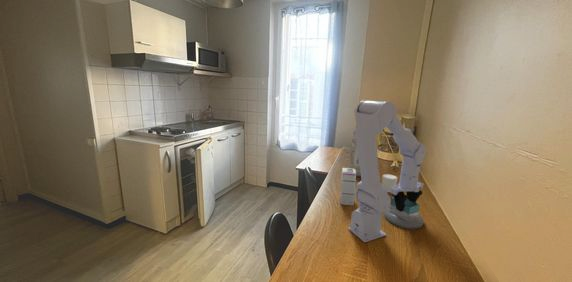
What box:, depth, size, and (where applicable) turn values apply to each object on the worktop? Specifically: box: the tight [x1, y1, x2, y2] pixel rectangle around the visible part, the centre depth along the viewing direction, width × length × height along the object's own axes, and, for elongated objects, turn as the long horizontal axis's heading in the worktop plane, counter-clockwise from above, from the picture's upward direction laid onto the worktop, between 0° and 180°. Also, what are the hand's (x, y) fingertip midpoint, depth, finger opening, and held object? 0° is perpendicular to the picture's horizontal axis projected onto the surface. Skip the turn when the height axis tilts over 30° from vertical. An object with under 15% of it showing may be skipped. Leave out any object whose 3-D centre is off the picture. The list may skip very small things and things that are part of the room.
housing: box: [389, 196, 420, 222], centre depth 84 cm, size 8×5×6 cm, turn 24°
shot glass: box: [381, 173, 398, 193], centre depth 109 cm, size 7×7×7 cm
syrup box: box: [339, 167, 357, 206], centre depth 96 cm, size 6×6×14 cm
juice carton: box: [349, 128, 361, 177], centre depth 128 cm, size 9×10×27 cm
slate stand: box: [383, 206, 425, 230], centre depth 85 cm, size 13×13×2 cm
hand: (404, 208), depth 84 cm, fingers open, 5 cm apart
